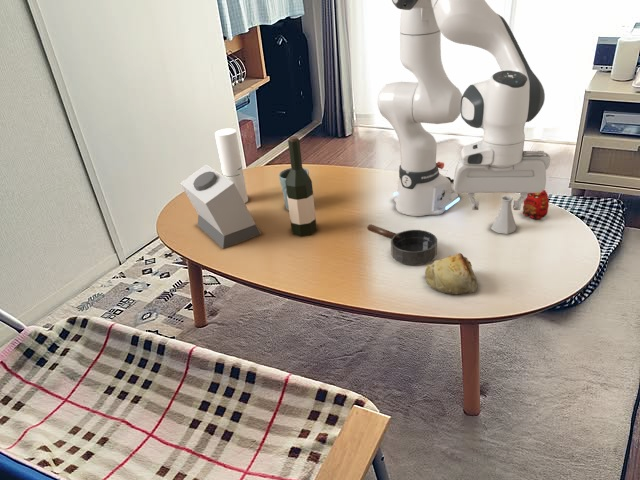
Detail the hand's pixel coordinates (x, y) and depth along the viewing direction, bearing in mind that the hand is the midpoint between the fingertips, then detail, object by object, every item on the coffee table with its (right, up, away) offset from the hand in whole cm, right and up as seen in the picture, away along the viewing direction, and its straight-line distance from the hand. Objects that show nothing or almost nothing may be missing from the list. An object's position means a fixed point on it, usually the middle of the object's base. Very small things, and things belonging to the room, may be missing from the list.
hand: (495, 209), depth 132 cm
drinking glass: (-49, +13, +62) cm, 80 cm away
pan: (-14, -7, +29) cm, 34 cm away
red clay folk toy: (+25, +6, +42) cm, 49 cm away
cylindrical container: (-71, +17, +70) cm, 101 cm away
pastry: (-7, -17, +16) cm, 24 cm away
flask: (+14, +1, +37) cm, 39 cm away
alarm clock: (-73, +3, +52) cm, 89 cm away
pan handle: (-23, -1, +35) cm, 42 cm away
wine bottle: (-47, +2, +47) cm, 66 cm away
